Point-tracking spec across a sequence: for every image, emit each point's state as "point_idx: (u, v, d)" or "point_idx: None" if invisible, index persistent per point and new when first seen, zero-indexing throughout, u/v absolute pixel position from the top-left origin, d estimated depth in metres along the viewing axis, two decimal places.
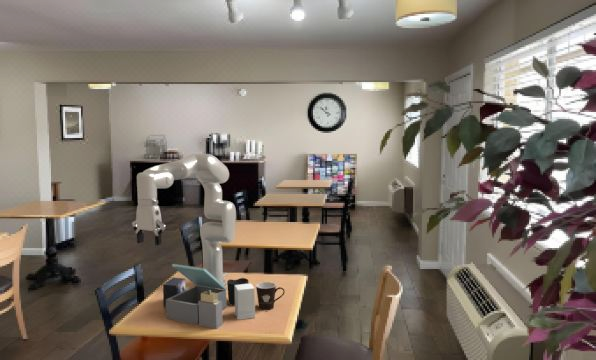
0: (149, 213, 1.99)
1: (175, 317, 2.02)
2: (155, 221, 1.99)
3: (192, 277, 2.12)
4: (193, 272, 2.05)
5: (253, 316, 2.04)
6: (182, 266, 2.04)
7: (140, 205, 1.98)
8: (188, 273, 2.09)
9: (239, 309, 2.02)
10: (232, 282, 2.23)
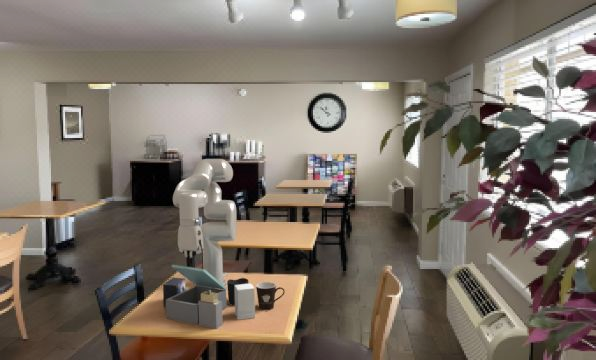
0: (192, 233, 2.00)
1: (175, 317, 2.02)
2: (197, 241, 2.00)
3: (192, 277, 2.12)
4: (193, 273, 2.05)
5: (253, 316, 2.04)
6: (182, 267, 2.04)
7: (183, 225, 1.99)
8: (188, 274, 2.09)
9: (239, 309, 2.02)
10: (232, 282, 2.23)
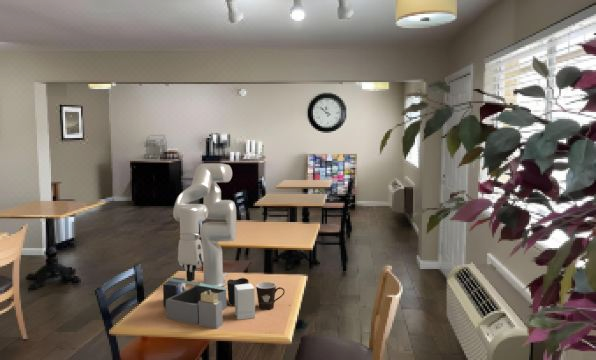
0: (192, 247, 2.00)
1: (175, 317, 2.02)
2: (197, 255, 2.00)
3: None
4: None
5: (253, 316, 2.04)
6: (177, 280, 2.02)
7: (183, 239, 2.00)
8: None
9: (239, 309, 2.02)
10: (232, 282, 2.23)
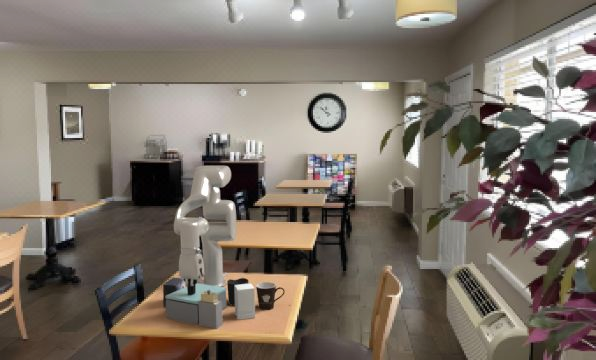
0: (193, 261, 2.01)
1: (175, 317, 2.02)
2: (198, 270, 2.01)
3: None
4: None
5: (253, 316, 2.04)
6: (175, 299, 2.01)
7: (184, 254, 2.01)
8: None
9: (239, 309, 2.02)
10: (232, 282, 2.23)
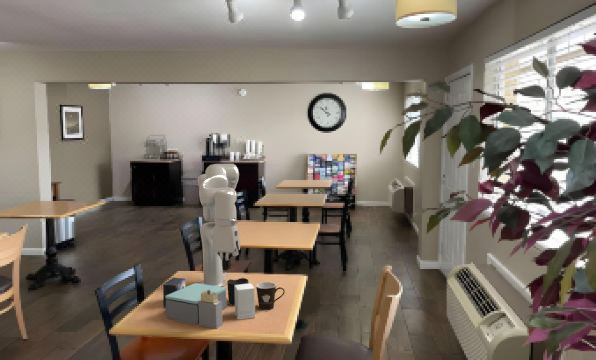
0: (228, 233, 1.86)
1: (175, 317, 2.02)
2: (234, 242, 1.86)
3: None
4: None
5: (253, 316, 2.04)
6: (175, 299, 2.01)
7: (219, 225, 1.86)
8: None
9: (239, 309, 2.02)
10: (232, 282, 2.23)
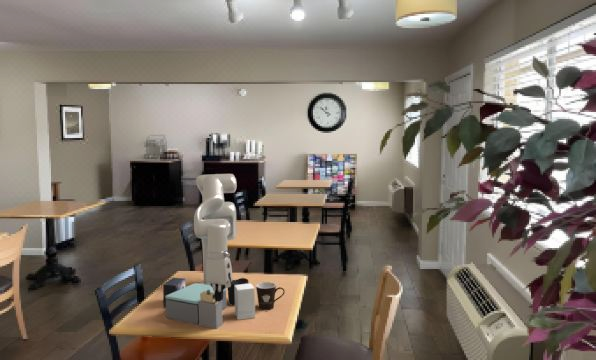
0: (221, 266, 1.89)
1: (175, 317, 2.02)
2: (227, 275, 1.89)
3: None
4: None
5: (253, 316, 2.04)
6: (175, 299, 2.01)
7: (211, 258, 1.89)
8: None
9: (239, 309, 2.02)
10: (232, 282, 2.23)
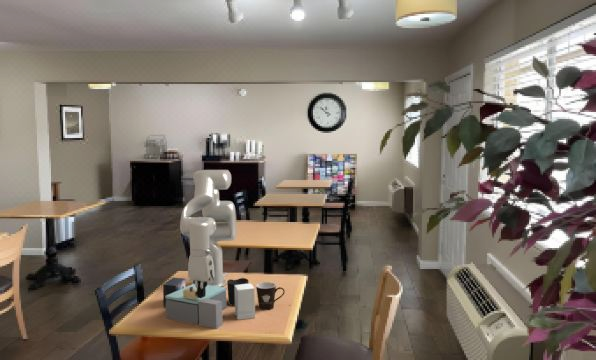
0: (203, 263, 1.93)
1: (175, 317, 2.02)
2: (209, 272, 1.93)
3: None
4: None
5: (253, 316, 2.04)
6: (175, 299, 2.01)
7: (193, 255, 1.92)
8: None
9: (239, 309, 2.02)
10: (232, 282, 2.23)
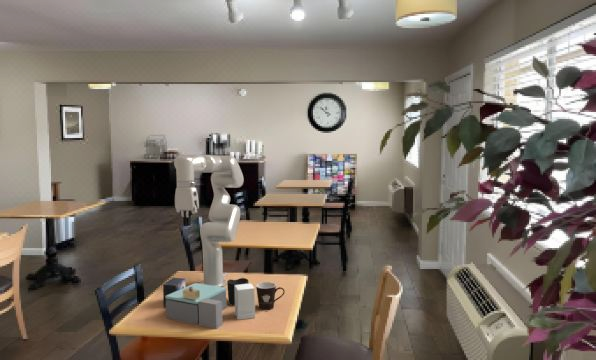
0: (188, 194, 2.14)
1: (175, 317, 2.02)
2: (193, 201, 2.14)
3: None
4: None
5: (253, 316, 2.04)
6: (175, 299, 2.01)
7: (179, 187, 2.14)
8: None
9: (239, 309, 2.02)
10: (232, 282, 2.23)
